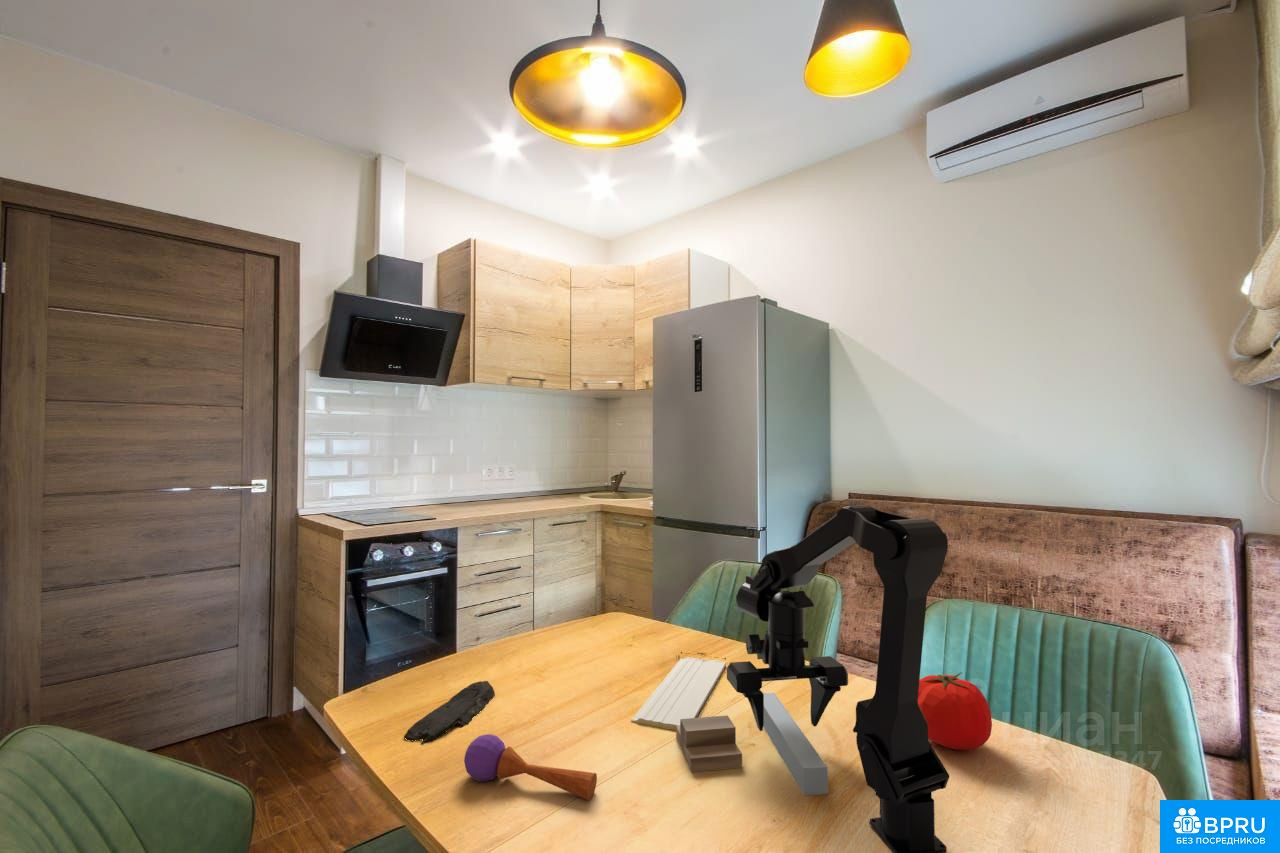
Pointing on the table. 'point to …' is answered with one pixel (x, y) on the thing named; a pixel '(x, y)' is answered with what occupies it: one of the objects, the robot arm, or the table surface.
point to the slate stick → (794, 748)
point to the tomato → (954, 712)
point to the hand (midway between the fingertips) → (787, 727)
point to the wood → (452, 712)
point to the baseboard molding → (680, 693)
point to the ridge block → (709, 743)
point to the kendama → (521, 767)
